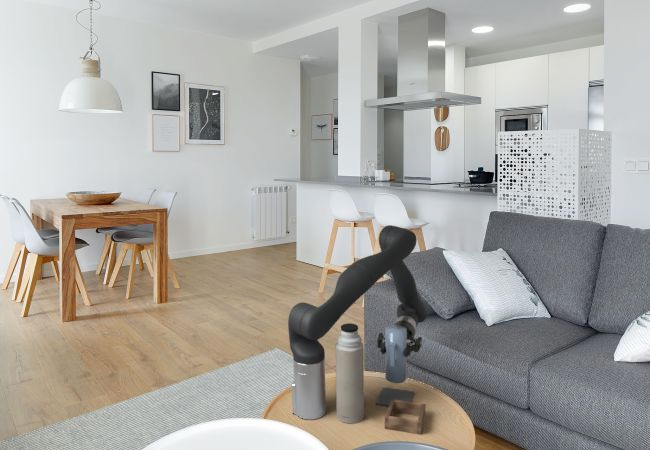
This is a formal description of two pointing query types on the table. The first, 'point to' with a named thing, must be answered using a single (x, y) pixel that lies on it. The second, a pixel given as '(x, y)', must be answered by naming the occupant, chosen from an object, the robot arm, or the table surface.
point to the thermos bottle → (349, 375)
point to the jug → (395, 353)
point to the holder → (404, 423)
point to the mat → (393, 396)
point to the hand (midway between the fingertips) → (394, 352)
